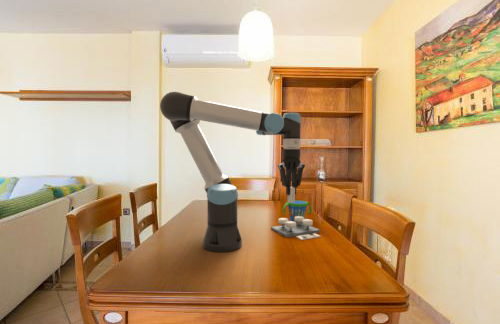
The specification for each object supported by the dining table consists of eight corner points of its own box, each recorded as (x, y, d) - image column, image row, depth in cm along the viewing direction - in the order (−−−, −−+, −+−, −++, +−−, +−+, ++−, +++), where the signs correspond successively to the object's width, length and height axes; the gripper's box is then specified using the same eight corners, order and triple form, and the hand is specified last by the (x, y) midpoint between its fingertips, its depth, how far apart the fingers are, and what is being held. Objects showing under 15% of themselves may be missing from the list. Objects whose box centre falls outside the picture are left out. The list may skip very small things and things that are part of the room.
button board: (286, 237, 120) (286, 234, 120) (271, 229, 132) (271, 226, 132) (319, 232, 127) (319, 229, 127) (302, 225, 139) (302, 222, 139)
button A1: (289, 232, 122) (289, 224, 121) (283, 229, 126) (283, 221, 126) (298, 230, 124) (298, 223, 123) (292, 228, 128) (292, 220, 128)
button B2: (298, 226, 131) (298, 218, 131) (292, 223, 135) (292, 216, 135) (306, 224, 133) (306, 217, 133) (300, 222, 137) (300, 215, 137)
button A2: (281, 228, 127) (281, 220, 127) (276, 225, 132) (276, 218, 131) (290, 227, 129) (290, 219, 129) (284, 224, 134) (284, 217, 133)
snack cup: (308, 218, 154) (308, 199, 153) (315, 223, 143) (315, 203, 143) (280, 218, 152) (280, 200, 151) (285, 224, 141) (285, 204, 141)
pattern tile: (301, 240, 117) (301, 238, 117) (295, 237, 120) (295, 235, 120) (320, 237, 121) (320, 235, 121) (314, 234, 124) (314, 232, 124)
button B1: (306, 229, 125) (306, 222, 125) (300, 227, 130) (300, 219, 129) (314, 228, 127) (314, 221, 127) (308, 225, 132) (308, 218, 131)
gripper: (282, 148, 117) (282, 204, 118) (309, 148, 122) (308, 202, 124) (273, 148, 123) (273, 201, 125) (299, 148, 129) (299, 199, 130)
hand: (291, 201), depth 124 cm, fingers closed
